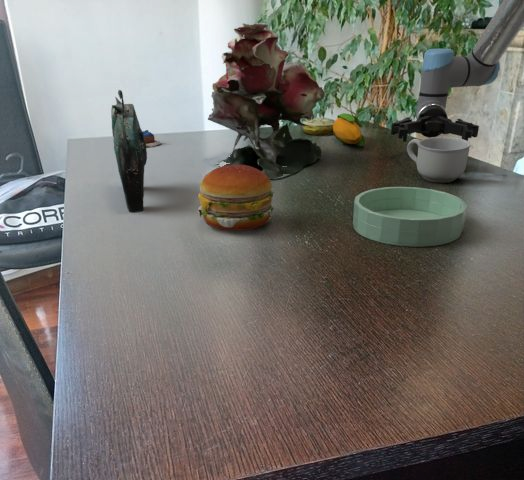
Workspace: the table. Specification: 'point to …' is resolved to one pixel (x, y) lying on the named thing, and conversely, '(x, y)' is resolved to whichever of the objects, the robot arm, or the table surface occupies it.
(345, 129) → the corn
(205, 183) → the burger
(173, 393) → the table surface
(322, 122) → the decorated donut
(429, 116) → the robot arm
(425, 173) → the teacup
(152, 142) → the dessert
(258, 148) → the rose bouquet
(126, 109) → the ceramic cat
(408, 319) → the table surface
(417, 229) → the bowl
